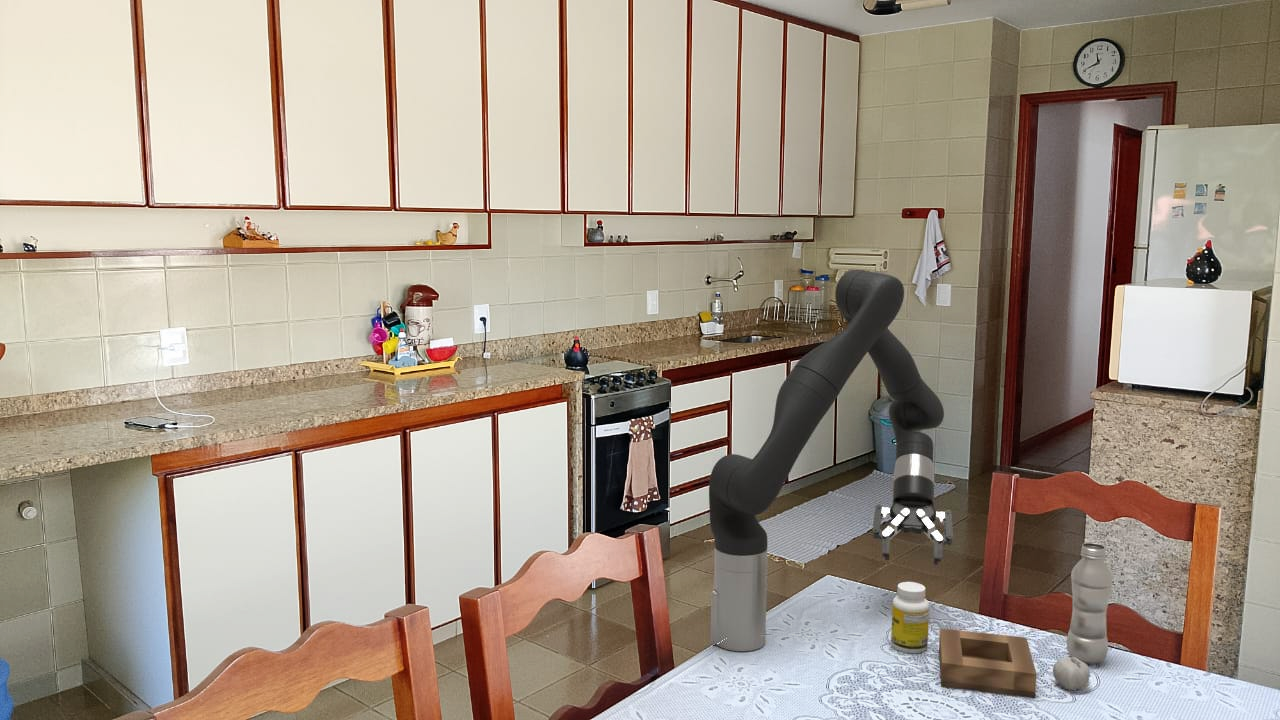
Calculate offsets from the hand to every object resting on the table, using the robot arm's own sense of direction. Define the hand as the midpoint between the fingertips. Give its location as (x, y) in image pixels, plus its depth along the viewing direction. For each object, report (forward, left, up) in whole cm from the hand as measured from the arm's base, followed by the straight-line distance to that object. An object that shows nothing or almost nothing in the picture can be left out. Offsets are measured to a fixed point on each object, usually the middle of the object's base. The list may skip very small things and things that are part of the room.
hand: (911, 560), depth 173 cm
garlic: (+25, -16, -13) cm, 33 cm away
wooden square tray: (+12, -15, -13) cm, 23 cm away
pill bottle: (0, -8, -13) cm, 16 cm away
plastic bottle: (+29, -5, -13) cm, 32 cm away
